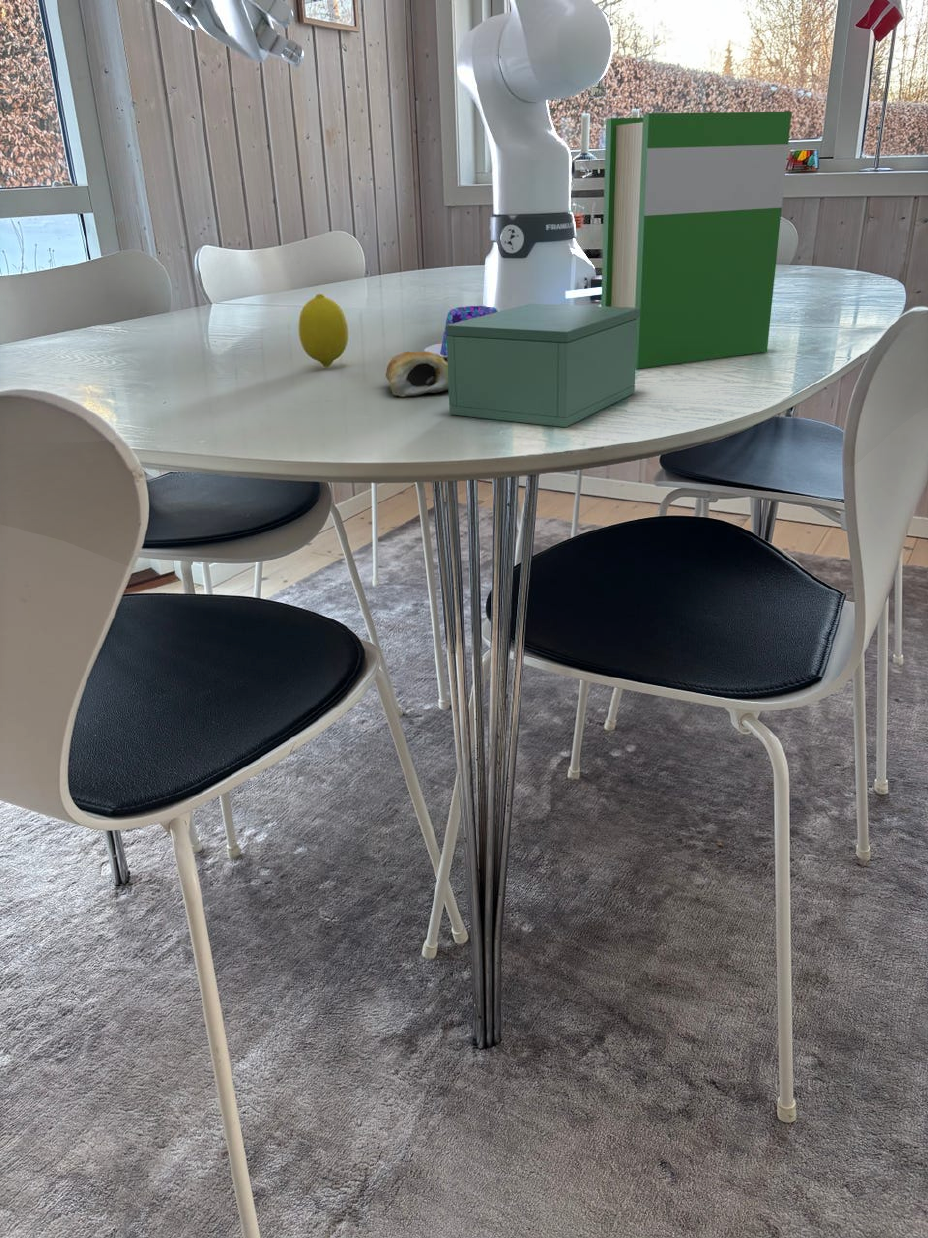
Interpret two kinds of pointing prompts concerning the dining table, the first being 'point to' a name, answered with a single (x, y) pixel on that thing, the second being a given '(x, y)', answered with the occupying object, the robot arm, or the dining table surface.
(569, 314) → the sage green box lid
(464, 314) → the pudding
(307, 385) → the dining table surface
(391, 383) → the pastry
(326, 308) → the lemon
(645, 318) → the hardback book
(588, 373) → the box
